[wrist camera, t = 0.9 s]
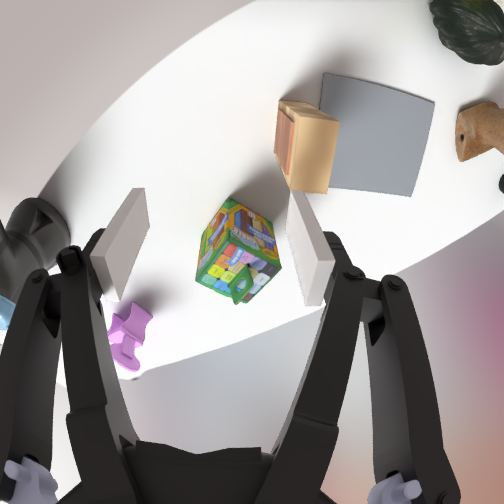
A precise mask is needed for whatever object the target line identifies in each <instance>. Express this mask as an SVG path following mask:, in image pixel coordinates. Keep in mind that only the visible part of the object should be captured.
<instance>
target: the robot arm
mask: <svg viewBox="0 0 504 504" xmlns="http://www.w3.org/2000/svg"><path fill="white" fill-rule="evenodd" d="M149 227H150V225H149V218H148V211H147V204H146V196H145V188H133V189H132V190H131V192H130V193H129V195H128V196H127V197H126V199H125V200H124V202H123V203H122V205H121V206H120V208H119V209H118V211H117V212H116V214H115V215H114V217H113V218H112V220H111V221H110V223H109V225H108V226H107V228H101V229H99V230H97V231H96V232H95V233H94V234H93V235H92V237H91V238H90V240H89V241H88V243H87V244H86V246H85V248H84V249H83V251H81V248H80V247H79V246H75V245H73V246H70V235H69V231H68V228H67V225H66V223H65V221H64V220H63V218H62V216H61V215H60V214H59V212H58V211H57V210H56V209H55V208H54V207H53V206H52V205H50V204H49V203H47V202H46V201H44V200H42V199H39V198H27V199H25V200H23V201H22V202H21V203H20V204H19V205H18V206H17V207H16V208H15V209H14V211H13V212H12V215H11V217H10V219H9V221H8V223H7V226H6V228H5V229H4V227H3V225H2V222H1V220H0V330H7V333H6V337H5V340H4V343H3V347H2V351H1V355H0V501H2V502H6V503H9V504H337V503H335V502H334V501H333V500H332V499H330V498H329V497H328V496H327V495H326V494H324V493H323V492H322V491H321V490H320V488H321V485H322V482H323V480H324V477H325V474H326V471H327V469H328V466H329V463H330V460H331V457H332V454H333V451H334V448H335V445H336V441H337V438H338V433H339V428H338V426H337V422H338V418H339V415H340V410H341V407H342V403H343V400H344V395H345V391H346V387H347V383H348V379H349V375H350V370H351V365H352V361H353V356H354V351H355V346H356V341H357V335H358V329H359V324H360V321H362V322H363V323H364V331H365V338H366V347H367V355H368V364H369V375H370V387H371V402H372V420H373V465H374V475H375V481H376V485H375V486H374V487H373V488H372V489H371V491H370V493H369V496H368V500H367V501H368V504H460V498H461V495H460V494H461V493H460V489H459V486H458V483H457V481H456V478H455V476H454V473H453V470H452V468H451V465H450V463H449V460H448V458H447V456H446V453H445V451H444V449H443V439H442V430H441V422H440V415H439V409H438V403H437V398H436V392H435V387H434V381H433V377H432V372H431V368H430V363H429V359H428V355H427V351H426V347H425V343H424V339H423V335H422V332H421V328H420V325H419V321H418V318H417V315H416V312H415V308H414V305H413V302H412V299H411V296H410V293H409V290H408V287H407V285H406V283H405V282H404V281H403V280H402V279H401V278H399V277H398V276H395V275H385V276H384V277H383V278H382V280H381V282H380V281H376V280H372V279H368V278H366V277H365V274H364V272H363V271H362V270H361V269H359V268H358V267H355V266H353V264H352V262H351V260H350V258H349V256H348V254H347V252H346V250H345V248H344V246H343V245H342V242H341V240H340V238H339V237H338V236H337V235H336V234H335V233H333V232H326V231H322V229H321V227H320V225H319V223H318V221H317V219H316V216H315V214H314V212H313V210H312V208H311V206H310V204H309V202H308V200H307V198H306V196H305V194H304V192H303V191H297V190H291V192H290V199H289V206H288V213H287V220H286V226H285V230H286V234H287V237H288V241H289V245H290V248H291V252H292V256H293V260H294V263H295V267H296V271H297V275H298V279H299V283H300V287H301V290H302V294H303V298H304V302H305V306H321V304H322V301H323V298H324V299H325V303H326V306H325V309H324V311H323V314H322V317H321V322H320V325H319V328H318V331H317V334H316V338H315V341H314V344H313V347H312V350H311V353H310V356H309V359H308V361H307V364H306V367H305V370H304V373H303V376H302V378H301V381H300V384H299V387H298V389H297V392H296V395H295V397H294V400H293V402H292V405H291V408H290V410H289V413H288V415H287V418H286V420H285V423H284V425H283V427H282V430H281V432H280V435H279V437H278V439H277V441H276V443H275V445H274V447H273V449H272V451H271V453H270V454H268V453H263V452H261V447H254V448H227V449H222V450H218V451H213V452H208V453H202V454H193V453H190V452H187V451H184V450H181V449H178V448H174V447H172V446H169V445H166V444H159V443H152V442H144V441H140V439H139V437H138V436H137V434H136V432H135V431H134V428H133V426H132V423H131V420H130V417H129V414H128V411H127V408H126V405H125V402H124V398H123V395H122V392H121V388H120V385H119V381H118V377H117V374H116V370H115V366H114V362H113V357H112V353H111V349H110V344H109V339H108V335H107V329H106V324H105V319H104V313H103V307H102V304H101V301H100V298H101V295H102V293H103V295H104V297H105V300H106V301H112V302H120V300H121V297H122V294H123V292H124V289H125V286H126V283H127V281H128V278H129V276H130V273H131V270H132V268H133V265H134V263H135V260H136V258H137V255H138V253H139V250H140V248H141V246H142V243H143V241H144V239H145V236H146V234H147V232H148V229H149ZM57 264H58V266H59V268H60V270H61V273H60V274H55V275H51V276H49V274H48V270H50V269H51V268H53V267H54V266H55V265H57ZM61 342H62V349H63V360H64V369H65V378H66V385H67V392H68V398H69V403H70V413H68V414H67V415H66V425H67V430H68V434H69V439H70V443H71V447H72V451H73V454H74V458H75V461H76V465H77V468H78V471H79V475H80V478H81V482H80V483H79V484H78V485H76V486H75V487H74V488H73V489H72V490H71V491H70V492H68V493H67V494H66V495H65V496H64V497H63V498H62V499H60V500H59V501H58V500H57V498H56V496H55V491H56V490H57V488H58V484H57V482H56V481H55V479H53V477H52V475H51V473H50V469H51V461H52V431H53V430H52V429H53V428H52V427H53V407H54V394H55V384H56V375H57V368H58V361H59V354H60V348H61Z"/></svg>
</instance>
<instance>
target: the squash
mask: <svg viewBox="0 0 504 504" xmlns="http://www.w3.org/2000/svg"><path fill="white" fill-rule="evenodd" d="M429 9H430V11H431V13H432V14H433V15H435V16H436V17H435V18H434V19H433V23H434V25H435V27H436V28H437V29H438V30H439V38H440V41H441V42H442V44H443V45H444V46H445V47H447V48H449V49H450V50H452V51H454V52H455V53H456V54H457V55H458V56H459V57H460V58H462V59H463V60H465V61H467V62H469V63H473V64H485V65H489V66H492V65H498V64H500V63H501V62H503V60H504V13H503V11H502V9H501V7H500V6H499V5H498V4H497V3H496V2H494V1H493V0H434V1H433V2H432V3H431V4H430V8H429Z"/></svg>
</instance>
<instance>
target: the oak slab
mask: <svg viewBox="0 0 504 504" xmlns="http://www.w3.org/2000/svg"><path fill="white" fill-rule="evenodd" d="M339 124H340V122H339V121H337V120H336V119H334V118H332V117H331V116H329V115H327V114H326V113H324V112H322V111H320V110H318V109H317V108H315V107H313V106H311V105H309V104H308V103H302V102H294V101H284V100H279V104H278V115H277V125H276V135H275V146H274V153H275V156H276V158H277V160H278V163H279V165H280V167H281V170H282V172H283V175H284V177H285V179H286V182H287V184H288V187H289V189H290V192H291V190H297V191H303V192H306V193H321V194H327V190H328V185H329V180H330V175H331V170H332V164H333V159H334V154H335V148H336V142H337V136H338V130H339Z"/></svg>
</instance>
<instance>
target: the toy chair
mask: <svg viewBox="0 0 504 504" xmlns="http://www.w3.org/2000/svg"><path fill="white" fill-rule="evenodd" d="M152 318H153V317H152V316H151V315H150V314H149V313H147V312H146V311H145V310H143V309H142V308H141V307H139V306H138V305H137V304H136V303H134V302H132V307H131V313H130V316H129V318H128V319H127V320H126V321H123V320H122V319H120V318H119V317H118V316H116V315H115V314H113V317H112V325H111V328H110V329H109V331H108V332H107V335H108V339H109V341H110V342H112V343H114V344H111V345H110V349H111V353H112V357H113V360H114V361H115V362H117V363H118V364H119V365H120V366H122V367H124V368H125V369H127V370H129V371H133V372H137V371H138V370H139V368H140V363H139V361H138V360H137V358H136V357H135V355H134V349H135V348H137V347H139V346H142V345H143V342H144V340H145V328H146V325H147V323H148V322H149V321H150V320H151V319H152Z"/></svg>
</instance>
